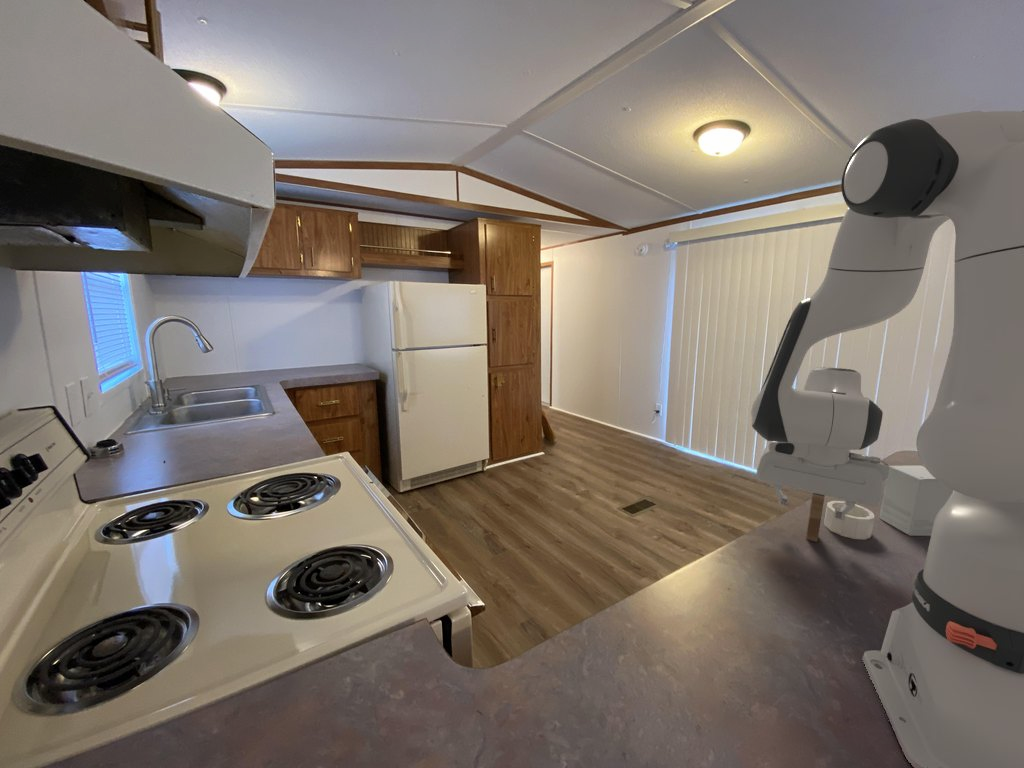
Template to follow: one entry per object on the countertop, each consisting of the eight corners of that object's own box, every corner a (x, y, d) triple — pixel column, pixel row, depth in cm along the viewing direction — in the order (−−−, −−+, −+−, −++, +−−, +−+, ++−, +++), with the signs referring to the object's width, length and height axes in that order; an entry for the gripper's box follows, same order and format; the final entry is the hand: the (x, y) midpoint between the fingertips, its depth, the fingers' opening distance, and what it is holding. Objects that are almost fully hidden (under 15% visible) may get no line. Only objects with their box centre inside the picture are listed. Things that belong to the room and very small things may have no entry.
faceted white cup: (872, 543, 81) (876, 523, 80) (824, 531, 85) (827, 511, 84) (868, 526, 87) (871, 507, 86) (823, 516, 91) (826, 497, 90)
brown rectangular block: (817, 542, 82) (824, 496, 80) (806, 539, 83) (813, 494, 81) (817, 535, 84) (824, 490, 82) (806, 532, 85) (813, 488, 83)
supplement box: (945, 536, 83) (958, 479, 81) (908, 536, 83) (920, 479, 81) (911, 517, 90) (922, 464, 88) (877, 517, 91) (887, 464, 88)
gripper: (888, 454, 77) (874, 519, 80) (762, 433, 88) (754, 491, 91) (894, 465, 72) (879, 535, 75) (760, 441, 83) (751, 503, 86)
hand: (809, 511), depth 83 cm, fingers open, 8 cm apart
